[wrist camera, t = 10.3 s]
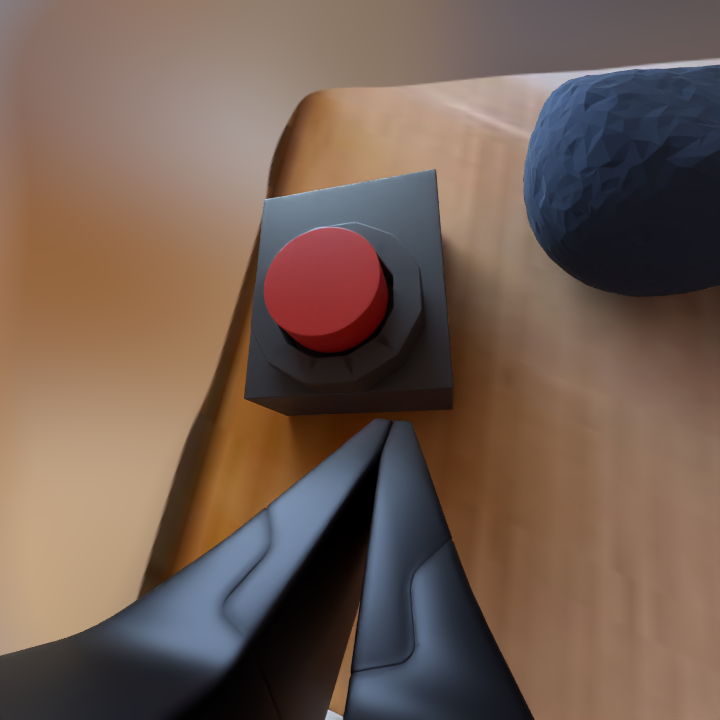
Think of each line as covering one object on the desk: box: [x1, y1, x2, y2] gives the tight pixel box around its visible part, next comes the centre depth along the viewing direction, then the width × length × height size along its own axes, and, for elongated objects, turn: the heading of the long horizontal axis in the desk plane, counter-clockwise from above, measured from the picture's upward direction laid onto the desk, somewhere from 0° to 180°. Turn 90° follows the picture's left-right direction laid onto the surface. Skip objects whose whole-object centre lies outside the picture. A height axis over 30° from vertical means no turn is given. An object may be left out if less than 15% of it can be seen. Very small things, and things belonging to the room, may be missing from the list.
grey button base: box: [244, 169, 454, 416], centre depth 20 cm, size 12×10×7 cm
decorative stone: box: [523, 65, 720, 297], centre depth 17 cm, size 12×12×10 cm
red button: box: [264, 227, 389, 353], centre depth 16 cm, size 5×5×2 cm
